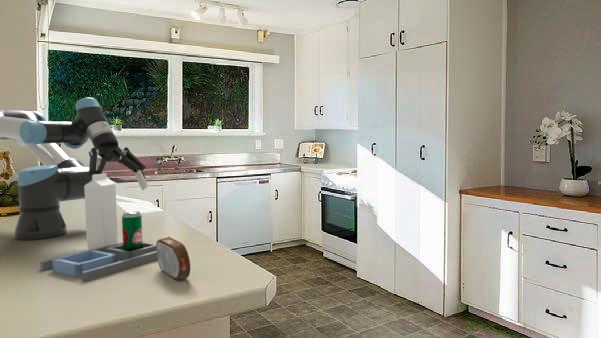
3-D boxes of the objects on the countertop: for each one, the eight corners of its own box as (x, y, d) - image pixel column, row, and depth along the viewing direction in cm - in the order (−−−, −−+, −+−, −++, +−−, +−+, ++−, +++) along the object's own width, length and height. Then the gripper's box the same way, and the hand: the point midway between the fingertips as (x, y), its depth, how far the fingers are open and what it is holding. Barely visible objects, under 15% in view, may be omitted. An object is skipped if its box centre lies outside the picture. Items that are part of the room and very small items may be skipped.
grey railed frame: (40, 269, 108) (39, 257, 107) (130, 246, 130) (129, 236, 130) (85, 281, 98) (84, 268, 98) (173, 254, 120) (173, 243, 120)
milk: (87, 250, 126) (82, 174, 125) (101, 245, 132) (97, 173, 131) (105, 251, 125) (101, 174, 123) (118, 246, 131) (115, 173, 129)
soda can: (136, 258, 117) (134, 214, 116) (119, 257, 118) (117, 213, 117) (146, 253, 122) (145, 211, 121) (130, 252, 123) (128, 210, 122)
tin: (192, 282, 97) (191, 244, 96) (178, 285, 95) (177, 247, 94) (167, 266, 109) (166, 233, 108) (154, 269, 107) (153, 235, 106)
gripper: (72, 130, 136) (99, 187, 130) (139, 131, 157) (164, 180, 152) (62, 144, 139) (87, 200, 134) (128, 144, 160) (152, 192, 155)
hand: (128, 190), depth 143 cm, fingers open, 13 cm apart
